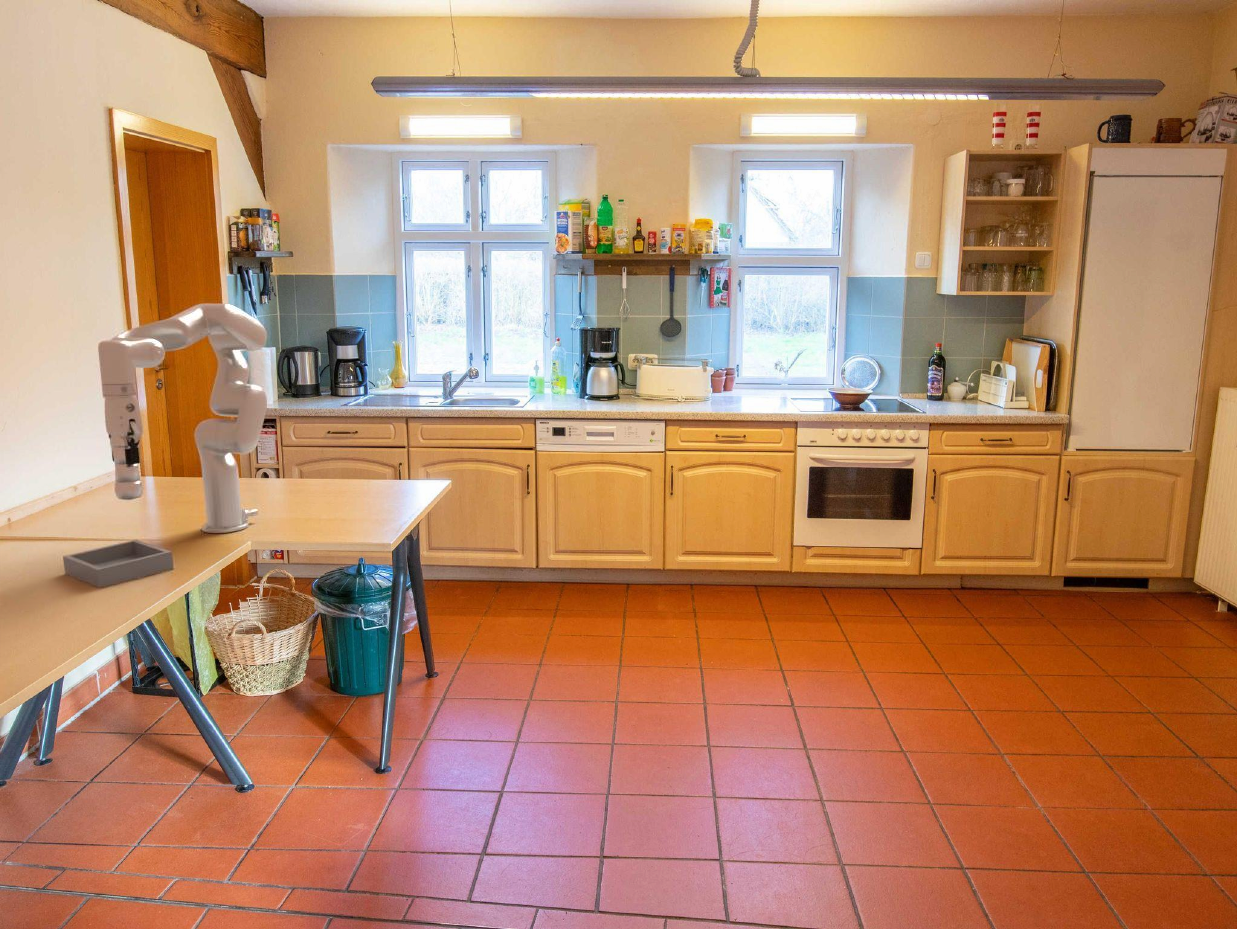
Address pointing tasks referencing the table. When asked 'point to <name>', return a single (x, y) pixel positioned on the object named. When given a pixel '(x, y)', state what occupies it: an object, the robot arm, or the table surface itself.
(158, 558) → the bin
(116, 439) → the plastic bottle
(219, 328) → the robot arm
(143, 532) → the table surface
